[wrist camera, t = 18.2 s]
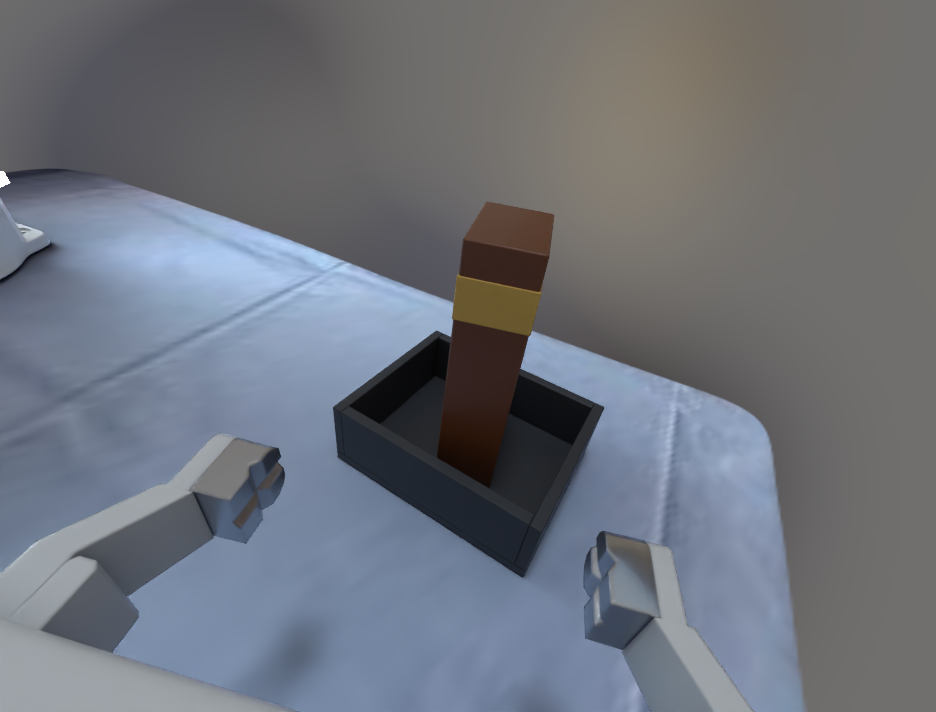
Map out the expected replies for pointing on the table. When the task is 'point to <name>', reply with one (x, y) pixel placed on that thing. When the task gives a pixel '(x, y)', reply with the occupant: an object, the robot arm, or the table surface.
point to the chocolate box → (491, 332)
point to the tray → (447, 489)
